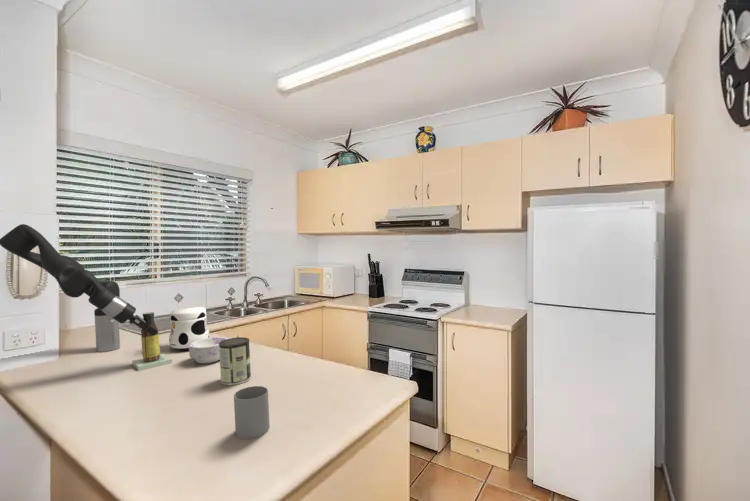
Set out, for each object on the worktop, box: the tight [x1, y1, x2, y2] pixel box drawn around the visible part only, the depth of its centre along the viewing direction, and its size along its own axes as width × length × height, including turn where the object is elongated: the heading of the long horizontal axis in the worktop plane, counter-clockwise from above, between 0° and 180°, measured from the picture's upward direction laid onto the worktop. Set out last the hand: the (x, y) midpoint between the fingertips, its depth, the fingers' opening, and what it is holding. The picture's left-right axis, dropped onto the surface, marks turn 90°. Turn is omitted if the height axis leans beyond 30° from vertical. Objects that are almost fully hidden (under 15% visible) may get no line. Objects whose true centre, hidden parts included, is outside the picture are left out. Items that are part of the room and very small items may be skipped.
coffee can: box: [219, 337, 252, 386], centre depth 129 cm, size 10×10×14 cm
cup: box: [233, 385, 271, 440], centre depth 93 cm, size 8×8×10 cm
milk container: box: [168, 306, 210, 351], centre depth 173 cm, size 17×17×18 cm
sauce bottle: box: [140, 311, 161, 362], centre depth 150 cm, size 6×6×20 cm
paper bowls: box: [188, 336, 228, 364], centre depth 152 cm, size 15×15×8 cm
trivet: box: [131, 353, 173, 372], centre depth 150 cm, size 12×12×2 cm
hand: (153, 332), depth 151 cm, fingers open, 8 cm apart
